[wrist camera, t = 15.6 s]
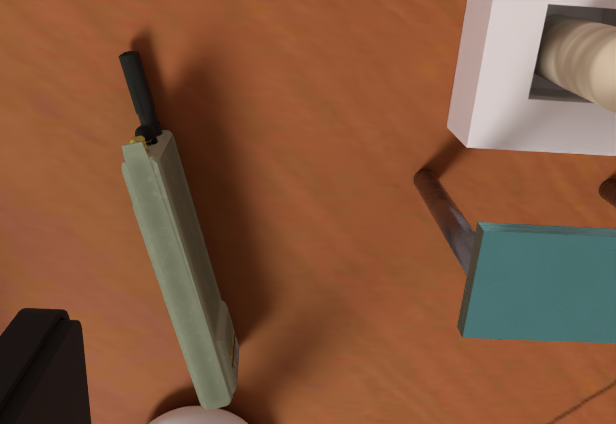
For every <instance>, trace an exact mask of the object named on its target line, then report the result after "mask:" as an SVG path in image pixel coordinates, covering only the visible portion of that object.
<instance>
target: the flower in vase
mask: <svg viewBox="0 0 616 424" xmlns="http://www.w3.org/2000/svg"><path fill="white" fill-rule="evenodd" d="M149 424H248V423H247V422H245V421H244V420H243V419H242V418H240V417H238V416H237V415H235V414H233V413H231V412H229V411H226V410H223V409H220V408H216V409H212V410H208V411H207V410H206V409H204V408H203V407H202V406H187V407H182V408H177V409H174V410H171V411H169V412H167V413H165V414H163V415H161V416H159V417H157V418H156V419H154V420H153V421H151V422H150V423H149Z"/></svg>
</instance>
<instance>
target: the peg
mask: <svg viewBox="0 0 616 424" xmlns="http://www.w3.org/2000/svg"><path fill="white" fill-rule="evenodd" d="M534 74H536V75H538V76H540V77H542V78H544V79H546V80H548V81H550V82H552V83H554V84H556V85H558V86H560V87H562V88H564V89H566V90H569V91H571V92H573V93H575V94H577V95H579V96H581V97H583V98H585V99H587V100H589V101H591V102H593V103H595V104H597V105H599V106H601V107H603V108H605V109H607V110H609V111H612V112H614V113H616V27H615V26H611V25H606V24H601V23H597V22H592V21H588V20H583V19H578V18H574V17H569V16H565V15H553V16H549V17H546V18H545V22H544V27H543V31H542V36H541V41H540V45H539V50H538V55H537V59H536V64H535V69H534Z"/></svg>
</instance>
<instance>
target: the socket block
mask: <svg viewBox="0 0 616 424" xmlns="http://www.w3.org/2000/svg"><path fill="white" fill-rule="evenodd" d="M553 15H565V16H569V17H574V18H578V19H583V20H588V21H592V22H597V23H601V24H606V25H611V26H615V27H616V0H467V5H466V11H465V17H464V23H463V29H462V36H461V42H460V48H459V54H458V60H457V66H456V73H455V79H454V85H453V91H452V97H451V103H450V110H449V116H448V122H447V128H448V129H449V130H450V131H451V132H452V133H453V134H454V135H455V136H456V137H457V138H458V139H459V140H460V141H461V142H462V143H463V144H464V145H465V146H466V147H467V148H483V149H501V150H519V151H537V152H555V153H573V154H591V155H609V156H616V113H614V112H612V111H609V110H607V109H605V108H603V107H601V106H599V105H597V104H595V103H593V102H591V101H589V100H587V99H585V98H583V97H581V96H579V95H577V94H575V93H573V92H571V91H569V90H566V89H564V88H562V87H560V86H558V85H556V84H554V83H552V82H550V81H548V80H546V79H544V78H542V77H540V76H538V75H536V74H534V69H535V64H536V59H537V55H538V50H539V45H540V41H541V36H542V31H543V27H544V22H545V18H546V17H549V16H553Z"/></svg>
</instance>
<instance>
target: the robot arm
mask: <svg viewBox="0 0 616 424" xmlns="http://www.w3.org/2000/svg"><path fill="white" fill-rule="evenodd" d="M0 424H91V416H90V406H89V395H88V385H87V375H86V365H85V354H84V344H83V334H82V326H81V323H80V321H78V320H70V319H69V315H68V313H67V311H65V310H62V309H36V308H24V309H22V310H20V311H19V312H18V314H17V315H16V316H15V317H14V319H13V320H12V321H11V323H10V324H9V325H8V327H7V328H6V329H5V331H4V332H3V333H2V335H1V336H0Z"/></svg>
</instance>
